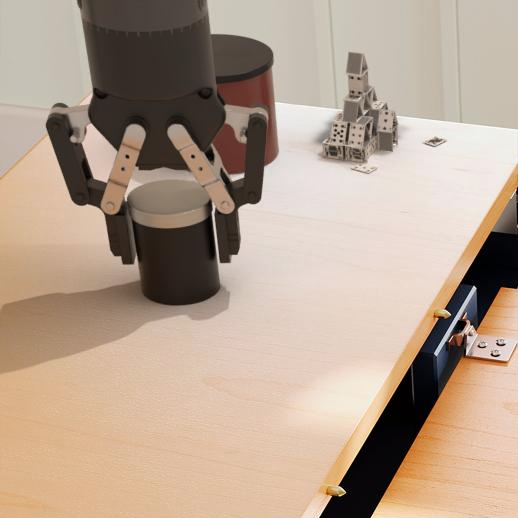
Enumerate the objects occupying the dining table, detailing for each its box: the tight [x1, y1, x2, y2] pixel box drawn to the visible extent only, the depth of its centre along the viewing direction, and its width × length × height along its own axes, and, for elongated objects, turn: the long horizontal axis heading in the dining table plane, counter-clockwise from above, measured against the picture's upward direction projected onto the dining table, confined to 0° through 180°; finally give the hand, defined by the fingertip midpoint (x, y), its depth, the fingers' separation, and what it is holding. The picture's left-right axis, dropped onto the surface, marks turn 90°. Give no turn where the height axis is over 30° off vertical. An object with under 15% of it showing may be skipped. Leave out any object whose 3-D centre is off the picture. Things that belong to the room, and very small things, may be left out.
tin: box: [187, 33, 280, 175], centre depth 124 cm, size 9×9×8 cm
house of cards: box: [322, 51, 448, 174], centre depth 126 cm, size 9×9×8 cm
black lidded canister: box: [126, 179, 221, 307], centre depth 104 cm, size 5×5×8 cm
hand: (177, 258), depth 105 cm, fingers open, 5 cm apart
